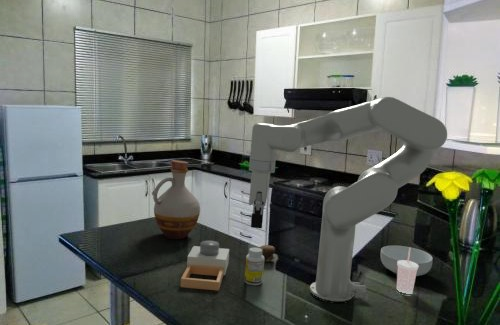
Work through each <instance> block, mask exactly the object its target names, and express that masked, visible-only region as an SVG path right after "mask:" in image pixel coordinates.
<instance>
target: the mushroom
mask: <svg viewBox="0 0 500 325" xmlns="http://www.w3.org/2000/svg"><path fill="white" fill-rule="evenodd" d="M258 248H260V249H262V255H263V256H264V263H265V262H271V261H273V260H274V259H275V258H276V256H274V254H275V252H276V247H274V246H273V245H269V244H264V245H261V246H259V247H258Z"/></svg>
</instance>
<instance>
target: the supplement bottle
mask: <svg viewBox="0 0 500 325" xmlns="http://www.w3.org/2000/svg"><path fill="white" fill-rule="evenodd" d="M264 269H265V262H264V256H263V255H262V249H260V248H259V247H250V248H249V250H248V254H247V255H246V257H245V267H244V283H246V284H247V285H250V286H259V285H261V284H262V283H263V280H264Z"/></svg>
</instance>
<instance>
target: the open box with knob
mask: <svg viewBox="0 0 500 325" xmlns="http://www.w3.org/2000/svg"><path fill="white" fill-rule="evenodd" d="M229 260H230V248H221V247H220V242H219V241H216V240H215V241H214V240H202V241H201V242H200V244H199V246H198V245H193V246H192V248H191V250H190V252H189V253H188V255H187V260H186V269H185V270H184V272H183V274H182V276H181V277H180V286H179V287H180V288H187V289H198V290H210V291H217V292H218V291H220V287H221V284H222V282H223V278H224V276H225V275H226V273H227V269H228V267H229ZM191 274H192V275H194V274H195V275H202V276H203V275H205V276H215V277H217V278H216V280H215V279H206V278H205V279H203V278H194V277H193V278H192V277H190V276H191Z"/></svg>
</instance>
